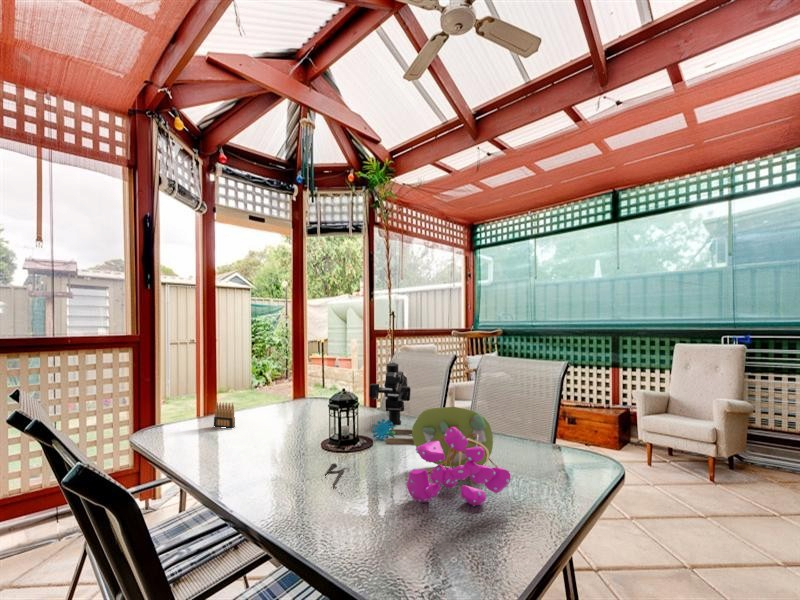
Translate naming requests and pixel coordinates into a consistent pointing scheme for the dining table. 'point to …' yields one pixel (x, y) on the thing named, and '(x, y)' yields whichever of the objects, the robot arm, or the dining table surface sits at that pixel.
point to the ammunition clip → (224, 416)
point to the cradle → (400, 440)
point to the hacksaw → (335, 472)
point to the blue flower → (383, 430)
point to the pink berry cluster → (454, 454)
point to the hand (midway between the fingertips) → (387, 398)
